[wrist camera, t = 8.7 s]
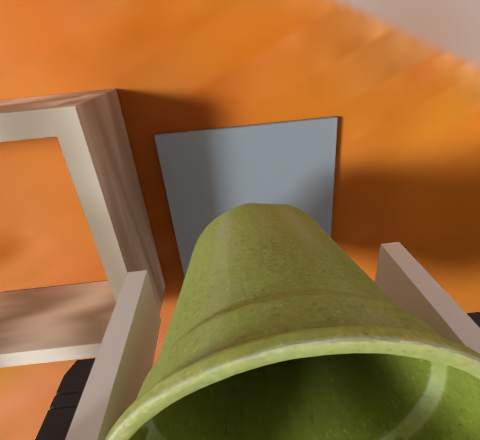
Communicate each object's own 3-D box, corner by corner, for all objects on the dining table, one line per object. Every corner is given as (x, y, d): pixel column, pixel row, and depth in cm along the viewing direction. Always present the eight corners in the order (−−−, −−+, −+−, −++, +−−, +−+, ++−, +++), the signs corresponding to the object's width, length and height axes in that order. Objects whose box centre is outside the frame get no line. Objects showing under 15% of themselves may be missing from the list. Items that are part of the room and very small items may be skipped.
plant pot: (399, 259, 15) (583, 471, 8) (251, 358, 18) (279, 590, 10) (276, 109, 12) (395, 232, 4) (111, 261, 14) (-6, 512, 7)
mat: (335, 116, 18) (337, 117, 18) (327, 262, 23) (329, 265, 22) (155, 134, 18) (154, 136, 17) (185, 278, 23) (185, 281, 22)
